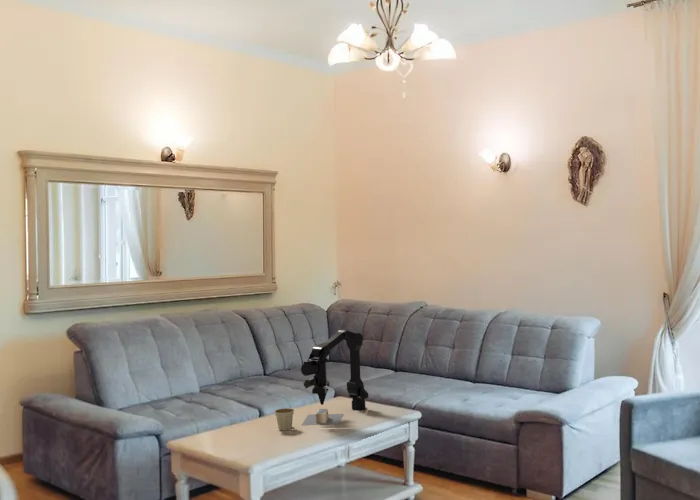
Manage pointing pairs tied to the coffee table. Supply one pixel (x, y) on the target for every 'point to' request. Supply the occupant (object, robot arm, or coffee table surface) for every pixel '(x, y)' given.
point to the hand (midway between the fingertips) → (322, 404)
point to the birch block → (322, 416)
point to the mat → (332, 420)
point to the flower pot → (284, 418)
